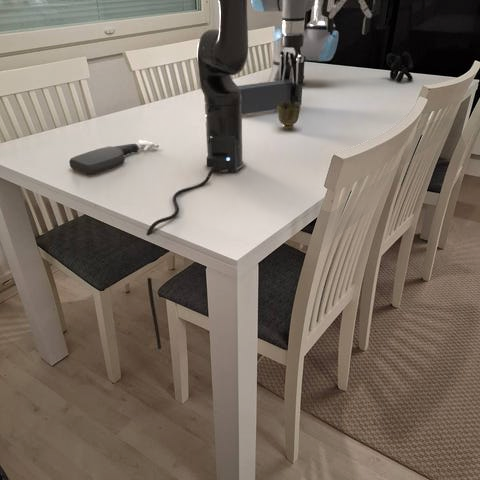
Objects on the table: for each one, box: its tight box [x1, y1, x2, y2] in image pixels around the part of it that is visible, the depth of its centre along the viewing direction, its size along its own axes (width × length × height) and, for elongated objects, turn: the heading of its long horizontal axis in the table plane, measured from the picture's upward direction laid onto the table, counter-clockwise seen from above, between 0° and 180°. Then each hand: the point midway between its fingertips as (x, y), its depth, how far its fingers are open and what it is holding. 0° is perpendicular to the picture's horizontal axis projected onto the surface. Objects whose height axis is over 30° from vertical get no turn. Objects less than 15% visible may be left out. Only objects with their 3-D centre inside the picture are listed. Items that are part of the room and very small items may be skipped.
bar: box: [237, 79, 303, 116], centre depth 159 cm, size 26×5×9 cm, turn 117°
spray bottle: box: [68, 139, 160, 177], centre depth 124 cm, size 3×11×24 cm
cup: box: [276, 101, 302, 131], centre depth 143 cm, size 8×7×8 cm
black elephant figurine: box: [385, 51, 414, 83], centre depth 198 cm, size 11×10×15 cm
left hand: (347, 34), depth 115 cm, fingers open, 8 cm apart
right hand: (289, 102), depth 164 cm, fingers closed on bar, 5 cm apart
